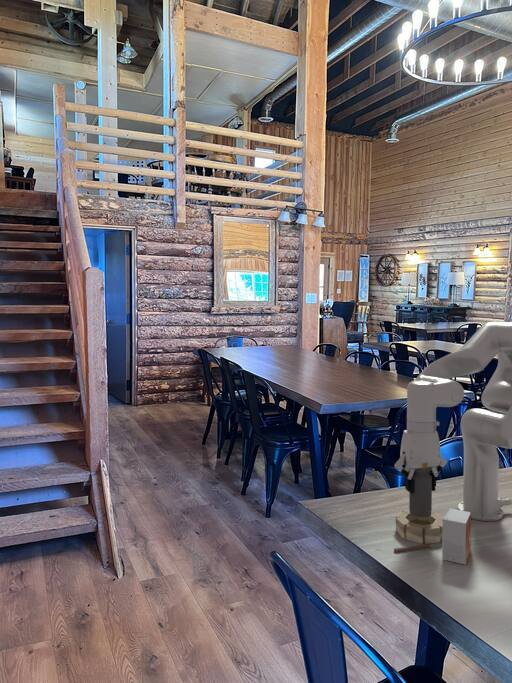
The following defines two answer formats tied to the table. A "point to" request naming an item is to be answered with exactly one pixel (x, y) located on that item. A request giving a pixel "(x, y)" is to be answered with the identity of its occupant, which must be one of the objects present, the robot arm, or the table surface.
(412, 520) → the segmented wooden ring
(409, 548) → the brown wooden stick
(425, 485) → the bottle
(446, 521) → the small box
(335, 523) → the table surface
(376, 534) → the table surface
